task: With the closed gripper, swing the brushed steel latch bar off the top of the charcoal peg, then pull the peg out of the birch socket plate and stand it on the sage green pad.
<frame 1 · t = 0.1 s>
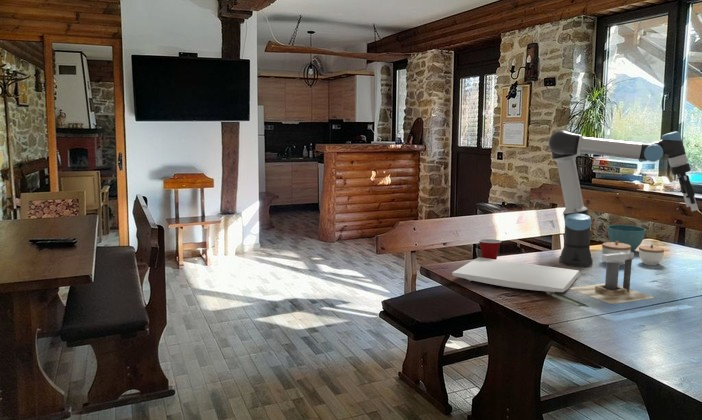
hand: (692, 208, 259), 28 cm above the table, tool tilted 20°, fingers open, 13 cm apart
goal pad: (573, 299, 214), on the table
plastic cup: (489, 264, 268), on the table
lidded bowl: (615, 263, 270), on the table
lidded jar: (650, 264, 269), on the table
peg: (610, 292, 218), point 1 cm above the table, touching socket plate
latch: (618, 256, 217), point 16 cm above the table, hinge at 0.0°
plant pot: (624, 250, 297), on the table
board: (515, 282, 239), on the table
socket plate: (610, 296, 218), on the table
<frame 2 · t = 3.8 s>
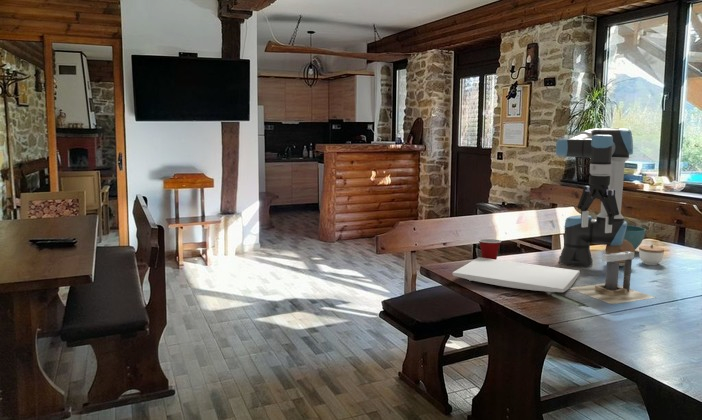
hand: (596, 229, 220), 25 cm above the table, tool pointing down, fingers open, 11 cm apart
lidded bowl: (616, 258, 269), point 3 cm above the table, touching arm
everything else where it was.
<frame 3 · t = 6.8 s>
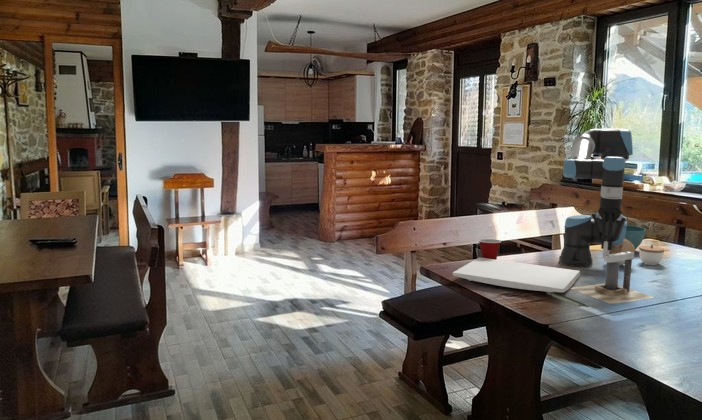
hand: (605, 257, 216), 16 cm above the table, tool pointing down, fingers closed
latch: (619, 256, 216), point 16 cm above the table, hinge at 4.8°, touching gripper
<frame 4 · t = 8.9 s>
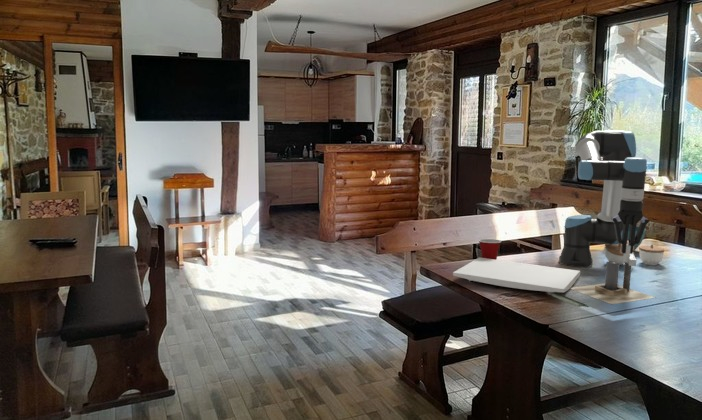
hand: (626, 261, 210), 16 cm above the table, tool pointing down, fingers closed
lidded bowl: (615, 260, 270), point 1 cm above the table, touching arm
latch: (630, 258, 214), point 16 cm above the table, hinge at 48.1°, touching gripper
everything else where it was.
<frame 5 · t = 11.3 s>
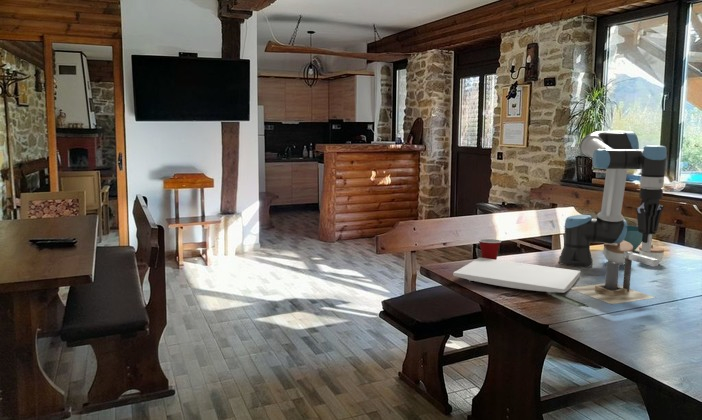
hand: (646, 250, 208), 20 cm above the table, tool pointing down, fingers closed
latch: (640, 258, 214), point 16 cm above the table, hinge at 88.7°
board: (516, 282, 239), on the table, touching socket plate
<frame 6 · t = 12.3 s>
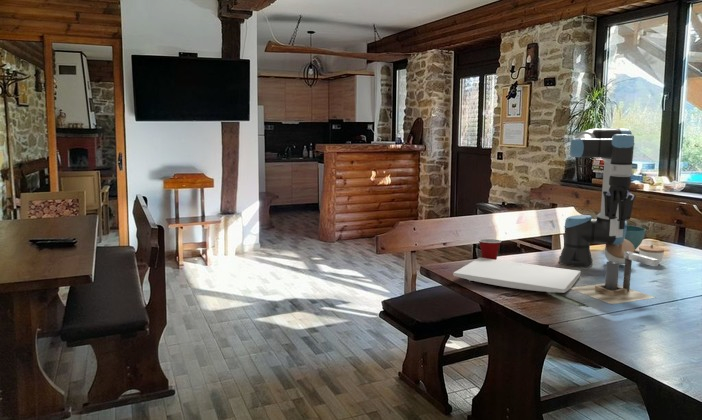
hand: (615, 236, 214), 24 cm above the table, tool pointing down, fingers open, 2 cm apart
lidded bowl: (615, 259, 269), point 2 cm above the table, touching arm
everything else where it was.
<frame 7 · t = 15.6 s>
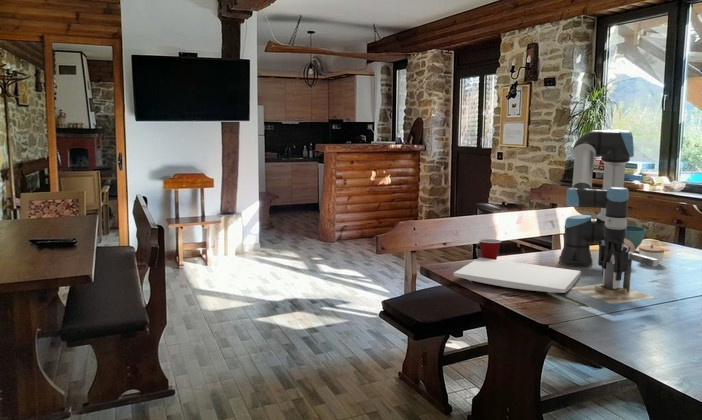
hand: (610, 286, 218), 4 cm above the table, tool pointing down, fingers closed on peg, 4 cm apart
peg: (610, 292, 218), point 2 cm above the table, touching gripper
when the fingers open (5 cm above the table, at t = 23.0 s): peg drops 1 cm, resting on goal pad.
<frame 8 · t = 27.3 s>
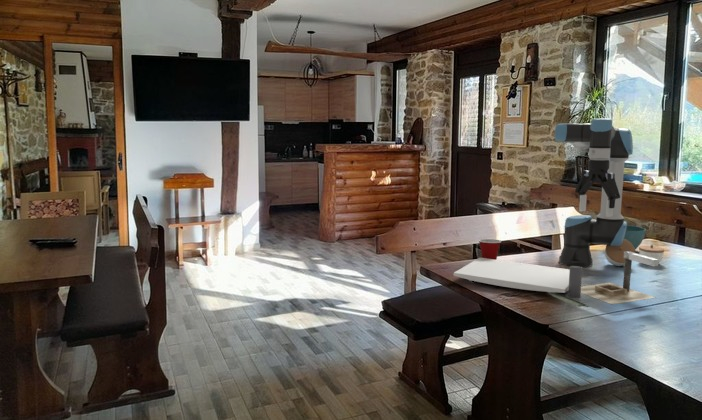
hand: (595, 213, 217), 32 cm above the table, tool pointing down, fingers open, 13 cm apart
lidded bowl: (616, 258, 269), point 3 cm above the table, touching arm
peg: (574, 297, 214), point 1 cm above the table, touching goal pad
everything else where it was.
at the end: latch at +89° (first picture: +0°); peg inside the target area (0.1 cm from its centre), point 0.8 cm above the table; peg tilted 0° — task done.
